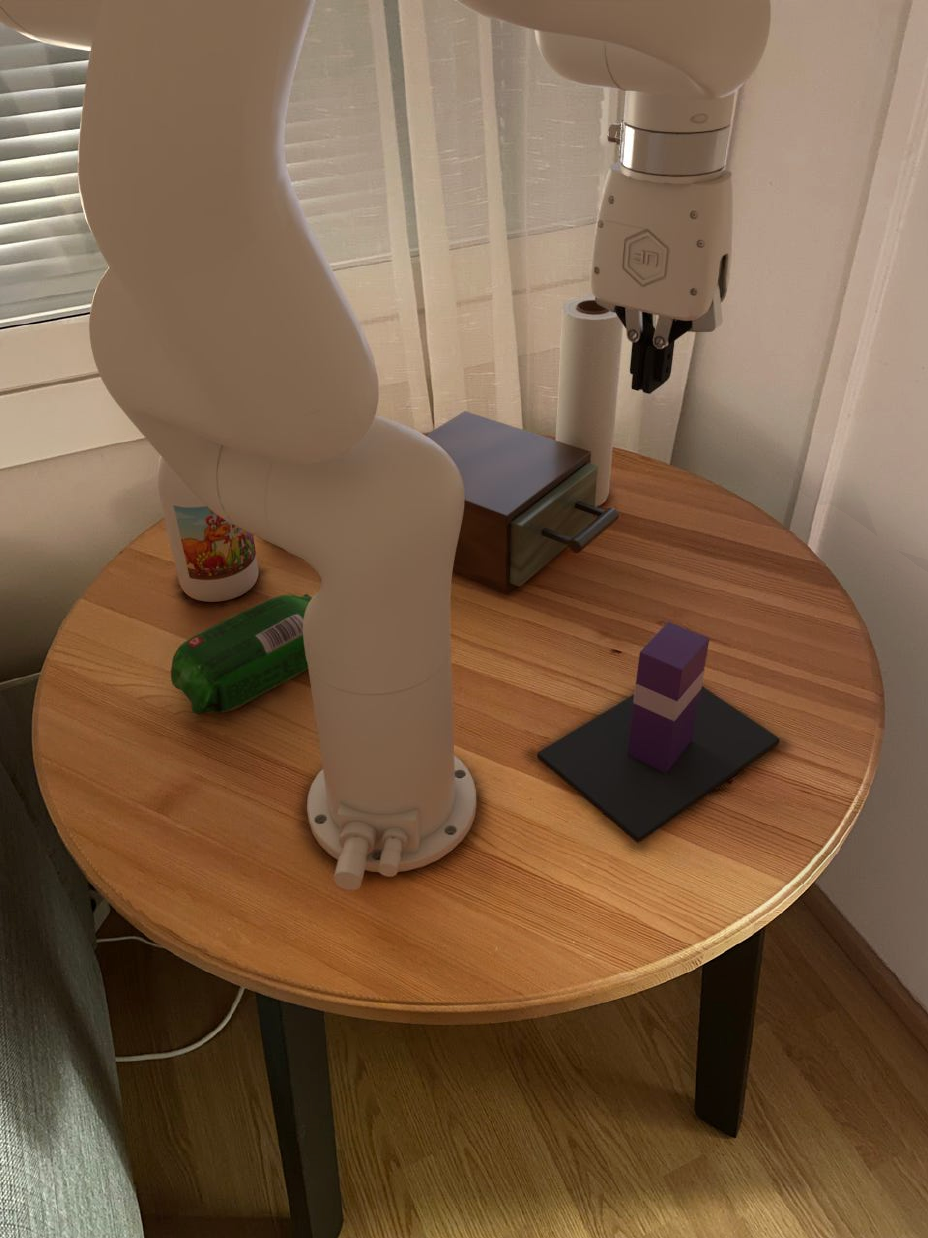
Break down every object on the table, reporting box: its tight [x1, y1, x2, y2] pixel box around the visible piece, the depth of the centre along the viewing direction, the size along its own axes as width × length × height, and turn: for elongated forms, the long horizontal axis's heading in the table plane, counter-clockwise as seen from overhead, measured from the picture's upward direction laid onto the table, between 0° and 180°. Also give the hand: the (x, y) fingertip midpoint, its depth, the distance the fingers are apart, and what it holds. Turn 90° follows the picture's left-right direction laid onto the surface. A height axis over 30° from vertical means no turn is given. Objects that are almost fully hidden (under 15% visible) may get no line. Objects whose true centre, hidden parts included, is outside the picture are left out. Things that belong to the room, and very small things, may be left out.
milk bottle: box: [156, 455, 260, 603], centre depth 93 cm, size 8×8×20 cm
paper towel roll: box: [555, 289, 624, 507], centre depth 104 cm, size 7×6×21 cm
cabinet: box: [424, 410, 591, 594], centre depth 102 cm, size 16×15×9 cm
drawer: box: [510, 463, 620, 588], centre depth 100 cm, size 19×14×7 cm
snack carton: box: [627, 621, 710, 773], centre depth 76 cm, size 4×4×10 cm
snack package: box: [170, 593, 313, 716], centre depth 86 cm, size 7×16×5 cm, turn 131°
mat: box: [536, 685, 780, 844], centre depth 79 cm, size 16×11×1 cm
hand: (648, 385), depth 84 cm, fingers closed
